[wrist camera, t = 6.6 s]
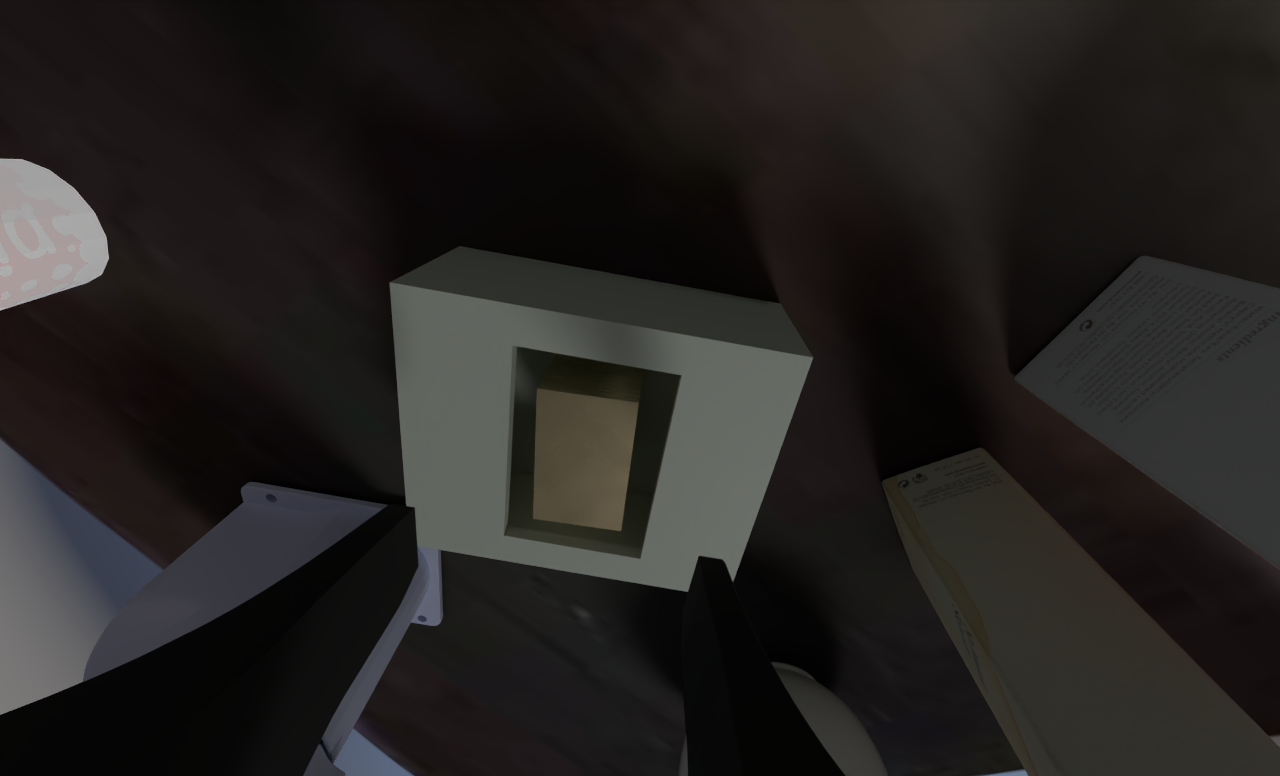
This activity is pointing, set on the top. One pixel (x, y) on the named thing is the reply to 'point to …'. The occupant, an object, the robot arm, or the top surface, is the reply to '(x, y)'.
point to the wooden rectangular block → (584, 441)
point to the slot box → (666, 422)
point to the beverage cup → (44, 235)
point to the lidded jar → (826, 725)
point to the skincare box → (1061, 637)
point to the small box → (1180, 389)
